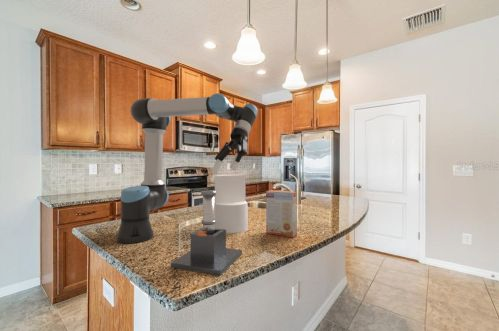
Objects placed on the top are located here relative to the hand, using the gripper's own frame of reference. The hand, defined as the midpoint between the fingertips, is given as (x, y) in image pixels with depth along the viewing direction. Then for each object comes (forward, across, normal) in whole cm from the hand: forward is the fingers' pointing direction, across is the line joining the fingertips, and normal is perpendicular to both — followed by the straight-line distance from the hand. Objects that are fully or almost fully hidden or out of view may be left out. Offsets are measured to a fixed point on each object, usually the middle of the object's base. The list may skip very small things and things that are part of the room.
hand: (222, 170), depth 97 cm
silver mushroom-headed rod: (+32, -5, -6) cm, 33 cm away
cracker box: (+10, -2, -43) cm, 44 cm away
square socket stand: (+34, -4, -7) cm, 35 cm away
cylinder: (+13, +22, -31) cm, 40 cm away
